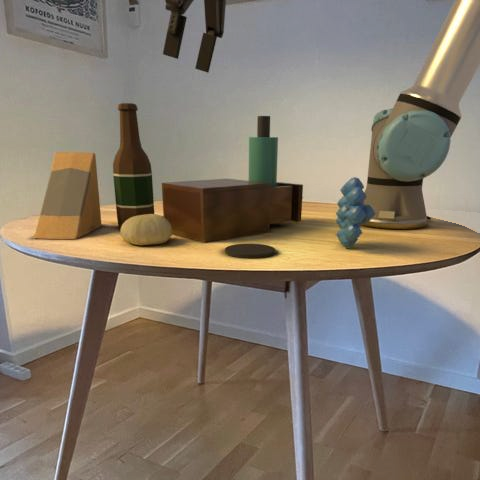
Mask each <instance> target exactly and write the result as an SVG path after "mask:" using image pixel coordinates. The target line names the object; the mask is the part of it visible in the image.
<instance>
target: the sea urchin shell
mask: <svg viewBox="0 0 480 480" xmlns="http://www.w3.org/2000/svg"><path fill="white" fill-rule="evenodd" d="M119 231H120V237H121V238H122V239H123V241H125V242H126V243H129V244H131V245H135V246H155V245H161V244H165V243H167V242H168V241H169V240H170V239H171V237H172V235H173V234H172V227H171V224H170V223H169V222H168V220H167V219H165V218H164V216H163V215H160V214H155V213H154V214H145V215H138V216H134V217H131V218H129V219H128V220H126V221H125V222H124V223H123V225H122V226H121V228H120V230H119Z"/></svg>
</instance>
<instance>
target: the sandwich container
mask: <svg viewBox="0 0 480 480" xmlns="http://www.w3.org/2000/svg"><path fill="white" fill-rule="evenodd" d="M96 157H97V155H96V153H95V152H84V151H83V152H82V151H79V152H78V151H55V152H54V155H53V160H52V165H51V170H50V175H49V178H48V182H47V187H46V190H45V195H44V198H43V203H42V207H41V210H40V214H39V217H38V221H37V225H36V228H35V233H34V236H33V239H40V240H41V239H47V240H48V239H49V240H77V239H79V238H81V237H83V236H85V235H87V234H89V233H91V232H93V231H94V230H96V229H98V228H100V227H101V226H102V215H101V203H100V202H101V201H100V191H99V180H98V170H97V167H98V166H97V159H96Z"/></svg>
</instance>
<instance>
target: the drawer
mask: <svg viewBox="0 0 480 480" xmlns="http://www.w3.org/2000/svg"><path fill="white" fill-rule="evenodd" d="M303 193H304V184H300V183H291V182H281V181H280V182H279V181H277V187H270V222H269V225H273V224H279V223H288V222H294V223H300V222H302V215H303V214H302V213H303V199H304V197H303Z"/></svg>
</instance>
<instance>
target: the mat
mask: <svg viewBox="0 0 480 480" xmlns="http://www.w3.org/2000/svg"><path fill="white" fill-rule="evenodd" d="M224 253H225V254H226V255H227V256H230V257H234V258H238V259H239V258H240V259H263V258H268V257H271V256H274V255H275V254H276V248H275V247H274V246H272V245H268V244H262V243H237V244H231V245H228V246H226V247H225V248H224Z"/></svg>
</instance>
